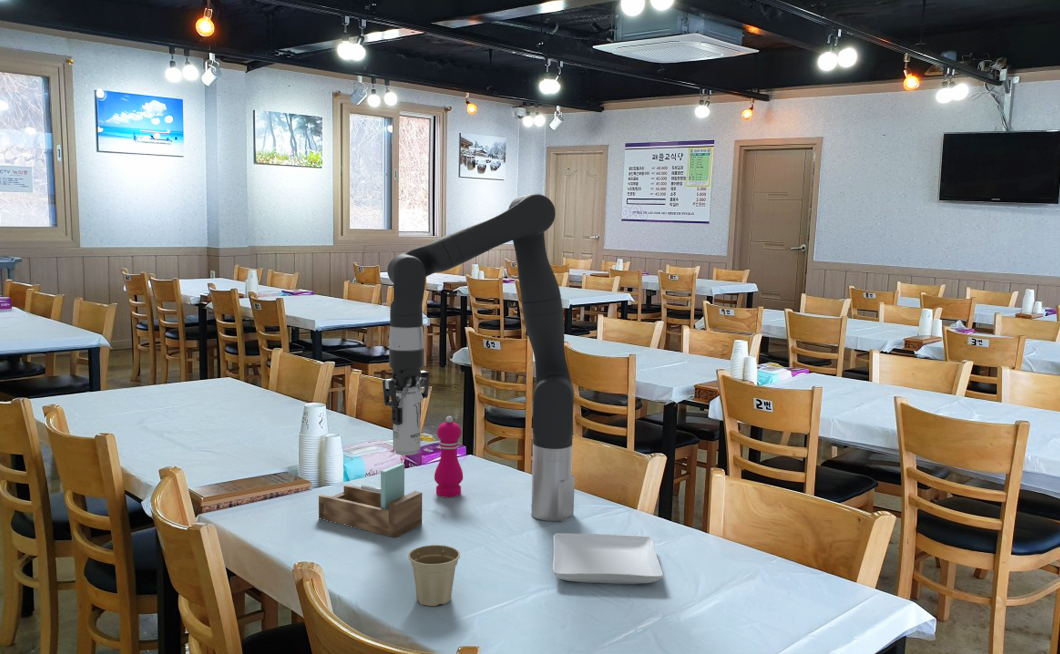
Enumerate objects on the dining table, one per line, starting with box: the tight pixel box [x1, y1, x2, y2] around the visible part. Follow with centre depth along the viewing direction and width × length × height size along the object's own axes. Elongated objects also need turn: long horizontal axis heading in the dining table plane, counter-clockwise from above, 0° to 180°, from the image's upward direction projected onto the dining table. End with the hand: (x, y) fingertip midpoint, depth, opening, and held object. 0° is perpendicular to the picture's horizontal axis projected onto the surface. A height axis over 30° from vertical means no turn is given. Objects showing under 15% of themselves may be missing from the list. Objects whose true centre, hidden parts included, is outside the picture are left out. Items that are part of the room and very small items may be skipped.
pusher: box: [360, 462, 406, 510], centre depth 193 cm, size 9×7×12 cm
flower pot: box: [407, 544, 461, 607], centre depth 156 cm, size 9×9×9 cm
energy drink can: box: [392, 386, 421, 456], centre depth 189 cm, size 6×6×15 cm
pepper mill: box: [433, 415, 464, 498], centre depth 214 cm, size 7×7×20 cm
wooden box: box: [318, 484, 423, 539], centre depth 194 cm, size 22×10×8 cm, turn 62°
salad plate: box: [551, 532, 664, 585], centre depth 173 cm, size 21×21×3 cm
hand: (406, 421), depth 189 cm, fingers closed on energy drink can, 6 cm apart
